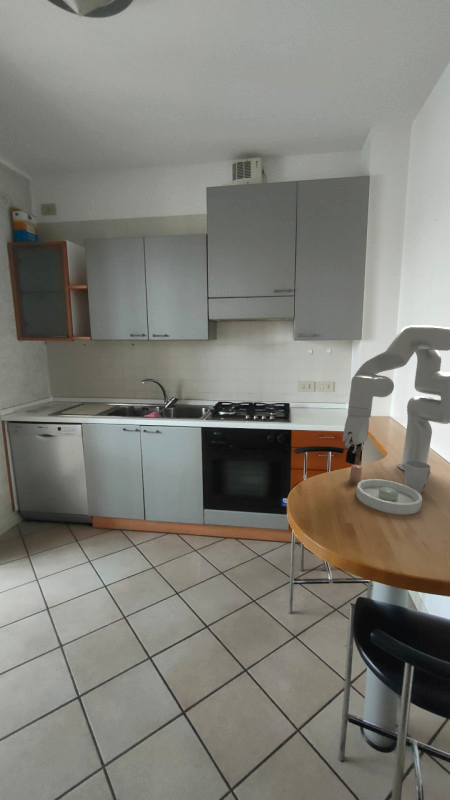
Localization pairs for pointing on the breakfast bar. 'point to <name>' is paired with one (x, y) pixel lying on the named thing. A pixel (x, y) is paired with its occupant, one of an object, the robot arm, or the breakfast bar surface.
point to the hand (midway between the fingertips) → (353, 461)
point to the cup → (416, 475)
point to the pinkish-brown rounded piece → (355, 474)
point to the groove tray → (396, 507)
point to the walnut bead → (357, 454)
